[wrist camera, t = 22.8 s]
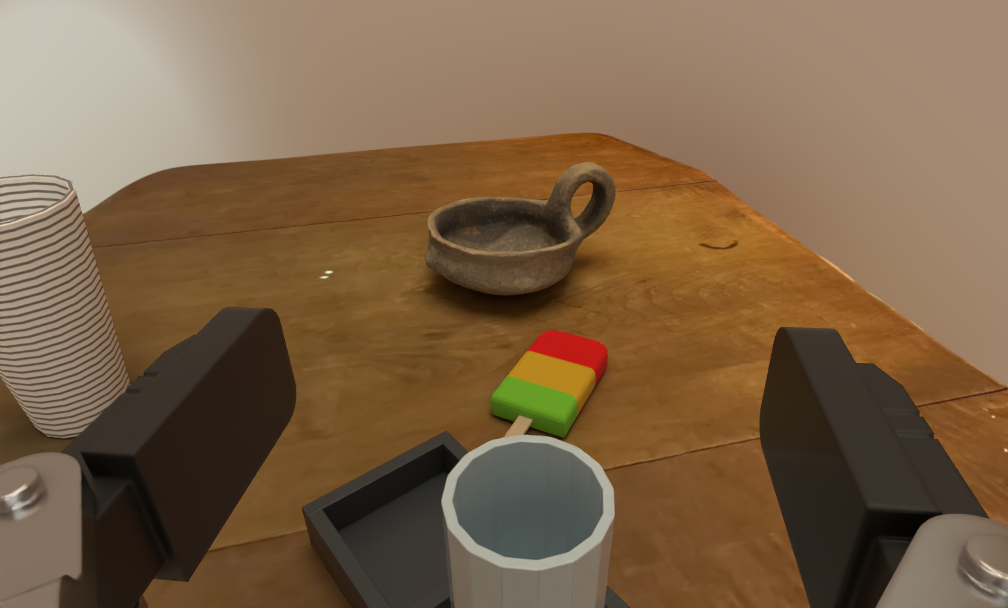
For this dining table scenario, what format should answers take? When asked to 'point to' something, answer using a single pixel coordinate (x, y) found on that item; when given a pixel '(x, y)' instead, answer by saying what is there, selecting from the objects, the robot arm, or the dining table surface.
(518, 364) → the popsicle
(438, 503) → the tray
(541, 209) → the bowl
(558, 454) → the tumbler
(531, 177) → the dining table surface
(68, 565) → the robot arm
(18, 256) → the cup
